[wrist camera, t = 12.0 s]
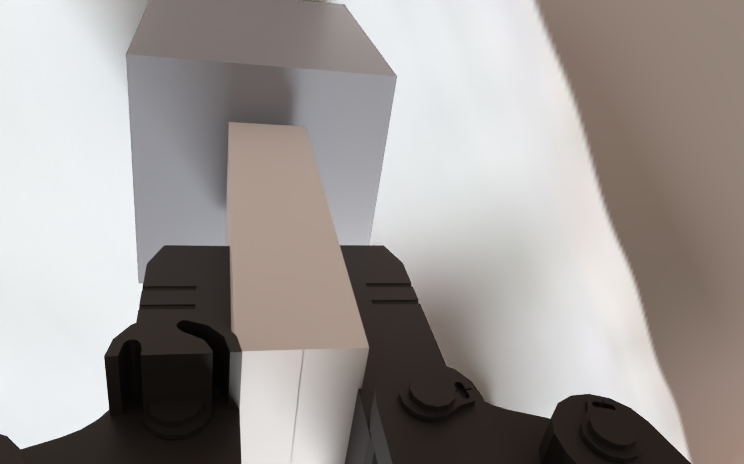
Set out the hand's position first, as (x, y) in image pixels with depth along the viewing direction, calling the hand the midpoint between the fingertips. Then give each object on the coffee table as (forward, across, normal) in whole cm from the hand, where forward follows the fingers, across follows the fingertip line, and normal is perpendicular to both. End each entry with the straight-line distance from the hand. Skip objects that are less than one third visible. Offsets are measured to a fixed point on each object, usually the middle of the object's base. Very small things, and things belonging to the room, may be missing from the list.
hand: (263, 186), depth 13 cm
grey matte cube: (+7, 0, 0) cm, 7 cm away
